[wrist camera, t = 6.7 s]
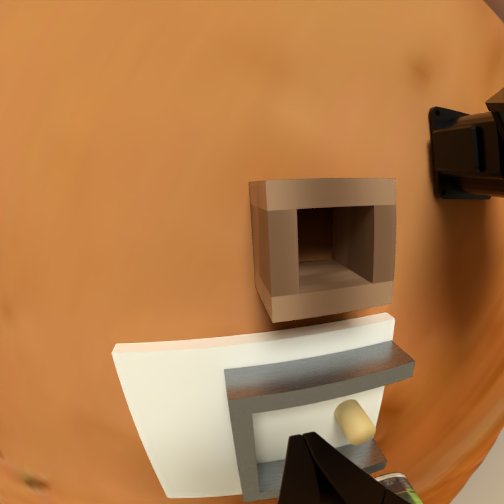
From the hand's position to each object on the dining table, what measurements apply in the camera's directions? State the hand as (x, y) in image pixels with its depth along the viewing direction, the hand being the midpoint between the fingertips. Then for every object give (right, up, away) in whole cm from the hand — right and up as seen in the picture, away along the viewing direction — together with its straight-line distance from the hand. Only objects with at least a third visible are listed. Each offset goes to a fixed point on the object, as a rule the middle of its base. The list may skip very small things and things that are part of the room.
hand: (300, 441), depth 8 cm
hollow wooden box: (+1, +7, +9) cm, 12 cm away
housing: (+3, -6, +11) cm, 13 cm away
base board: (-1, -7, +12) cm, 14 cm away
